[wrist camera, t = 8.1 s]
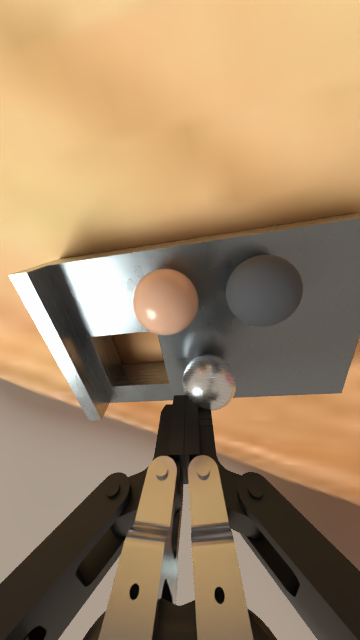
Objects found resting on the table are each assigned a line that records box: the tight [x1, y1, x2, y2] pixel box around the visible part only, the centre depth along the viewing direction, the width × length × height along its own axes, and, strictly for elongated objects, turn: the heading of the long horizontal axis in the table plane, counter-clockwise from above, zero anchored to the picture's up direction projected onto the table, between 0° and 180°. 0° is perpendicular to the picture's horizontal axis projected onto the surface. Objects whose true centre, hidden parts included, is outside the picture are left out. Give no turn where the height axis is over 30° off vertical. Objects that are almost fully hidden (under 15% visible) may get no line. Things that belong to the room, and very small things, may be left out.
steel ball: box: [182, 354, 236, 410], centre depth 12 cm, size 3×3×3 cm
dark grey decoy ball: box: [226, 255, 303, 327], centre depth 9 cm, size 3×3×3 cm
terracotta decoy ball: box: [132, 269, 198, 335], centre depth 10 cm, size 3×3×3 cm
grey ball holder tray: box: [9, 213, 360, 420], centre depth 13 cm, size 11×18×4 cm, turn 99°
